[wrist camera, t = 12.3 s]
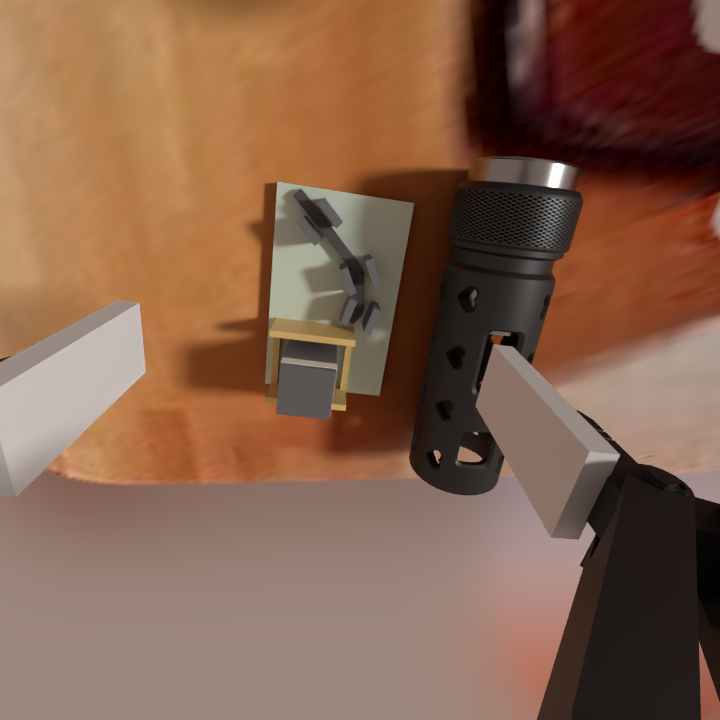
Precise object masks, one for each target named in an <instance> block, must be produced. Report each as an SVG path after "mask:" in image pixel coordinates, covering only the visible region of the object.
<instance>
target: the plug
mask: <svg viewBox="0 0 720 720" xmlns="http://www.w3.org/2000/svg"><path fill="white" fill-rule="evenodd" d="M336 374H337V345H335V344H327V343H318V342H310V341H301V340H293V339H289V342H288V344H287V347H286V350H285V353H284V356H283V357H282V360H281V364H280V376H279V387H278V398H277V410H276V414H282V415H291V416H301V417H310V418H319V419H328V420H330V415H331V408H332V401H333V394H334V387H335V381H336Z"/></svg>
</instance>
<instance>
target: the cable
mask: <svg viewBox="0 0 720 720" xmlns="http://www.w3.org/2000/svg"><path fill="white" fill-rule="evenodd" d="M293 197H294V198H295V199H296V200H297V202H298V203H299V204H300V205H301V206H302V208H303V209H304V210H305V211H306V213H307V214H308V215H309V216H310V217H311V219H312V220H313V221H314V222H315V223H316V225H317V226H318V227H319V229H320V230H321V231H322V233H323V234H324V235H325V237H326V238H327V239H328V241H329V242H330V243H331V245H332V246H333V247H334V249H335V250H336V251H337V253H338V254H339V255H340V257H341V258H342V259H343V261H344V262H345V263H346V264H347V266H348V267H349V268H350V270H351V271H352V272H353V274H354V286H355V289H356V294H354V295H355V296H356V298H357V304H356V306H355V309H354V311H353V313H352V316H351V318H350V322H351V323H352V324H354V323H355V322H356V321H357V320H358V319H359V318H360V317H361V316H362V315H363V312H362V311H364V271H363V268H362V267H361V266H360V264H359V263H358V262H357V260H356V259H355V258H354V256H353V255H352V253H351V252H350V251H349V249H348V248H347V247H346V245H345V244H344V243H343V241H342V240H341V239H340V237H339V236H338V235H337V233H336V232H335V230H334V229H333V228H332V226H331V225H330V224H329V222H328V221H327V220H326V218H325V217H324V216H323V215H322V213H321V212H320V211H319V210H318V208H317V207H316V206H315V205H314V203H313V202H312V201H311V200H310V199H309V197H308V196H307V195H306V194H305V192H304V191H303V190H302V189H300V190H299V191H298V192H297V193H295V194H294V195H293Z"/></svg>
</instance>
